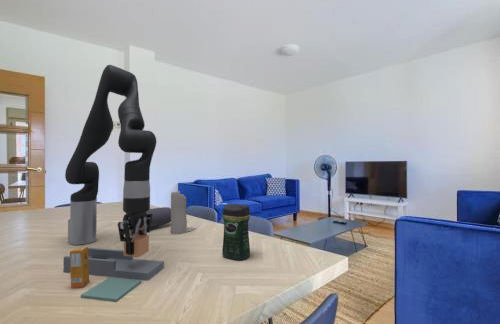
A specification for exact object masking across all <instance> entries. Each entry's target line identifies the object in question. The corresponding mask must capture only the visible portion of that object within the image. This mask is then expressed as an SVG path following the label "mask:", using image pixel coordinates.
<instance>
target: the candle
mask: <svg viewBox="0 0 500 324" xmlns="http://www.w3.org/2000/svg"><path fill="white" fill-rule="evenodd" d="M170 193H171V194H170V208H171V222H170V234H172V235H182V234H185V233H188V232H192V231H194V230H196V229H197V228H196V227H193V226H191V227H188V221H187V220H188V219H187V196H185V195H184V194H183V193H181V191H180V190H176V191H171V192H170Z"/></svg>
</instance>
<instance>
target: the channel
mask: <svg viewBox="0 0 500 324" xmlns="http://www.w3.org/2000/svg"><path fill="white" fill-rule="evenodd" d="M88 258H89V276H99V277H101V276H102V277H108V278H109V277H112V278H122V279H132V280H141V281H149V280H151V278H153V277H154V276H156V275H157V274H158V273H159V272H161V271H162V270H163V269H165V261H164V260H163V261H162V260H154V259H153V260H152V259H151V260H150V259H139V258H134V257H131V256H124V249H109V248H100V247H98V248H96V247H88ZM63 273H68V274H69V273H70V255H66V256H63Z"/></svg>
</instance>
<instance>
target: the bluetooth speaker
mask: <svg viewBox="0 0 500 324" xmlns="http://www.w3.org/2000/svg"><path fill="white" fill-rule="evenodd" d="M146 212H147V213H149V214H152V222H151V229H152V230H156V229H159V228H160V226H164V225H168V224H171V207H167V206H166V207H165V206H163V207H156V208H150V210H149V211H146ZM125 218H126V213H125V214H124V215H123V218H122V221H121V222H123V221H125ZM147 221H148V220H147ZM147 227H148V225H147ZM151 229H150V231H151ZM129 230H130V229H129ZM130 231H134V230H130Z"/></svg>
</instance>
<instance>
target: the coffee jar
mask: <svg viewBox="0 0 500 324" xmlns="http://www.w3.org/2000/svg"><path fill="white" fill-rule="evenodd" d="M250 218H251V211H250V207H249V205H246V204H239V203H229V204H225V205H223V209H222V220H223V239H222V249H221V250H222V251H221V252H222V253H221V255H222V256H223V257H224V258H227V259H232V260H237V261H241V260H245V259H248V258H249V256H250V255H251V246H250V236H249V221H250Z"/></svg>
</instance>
